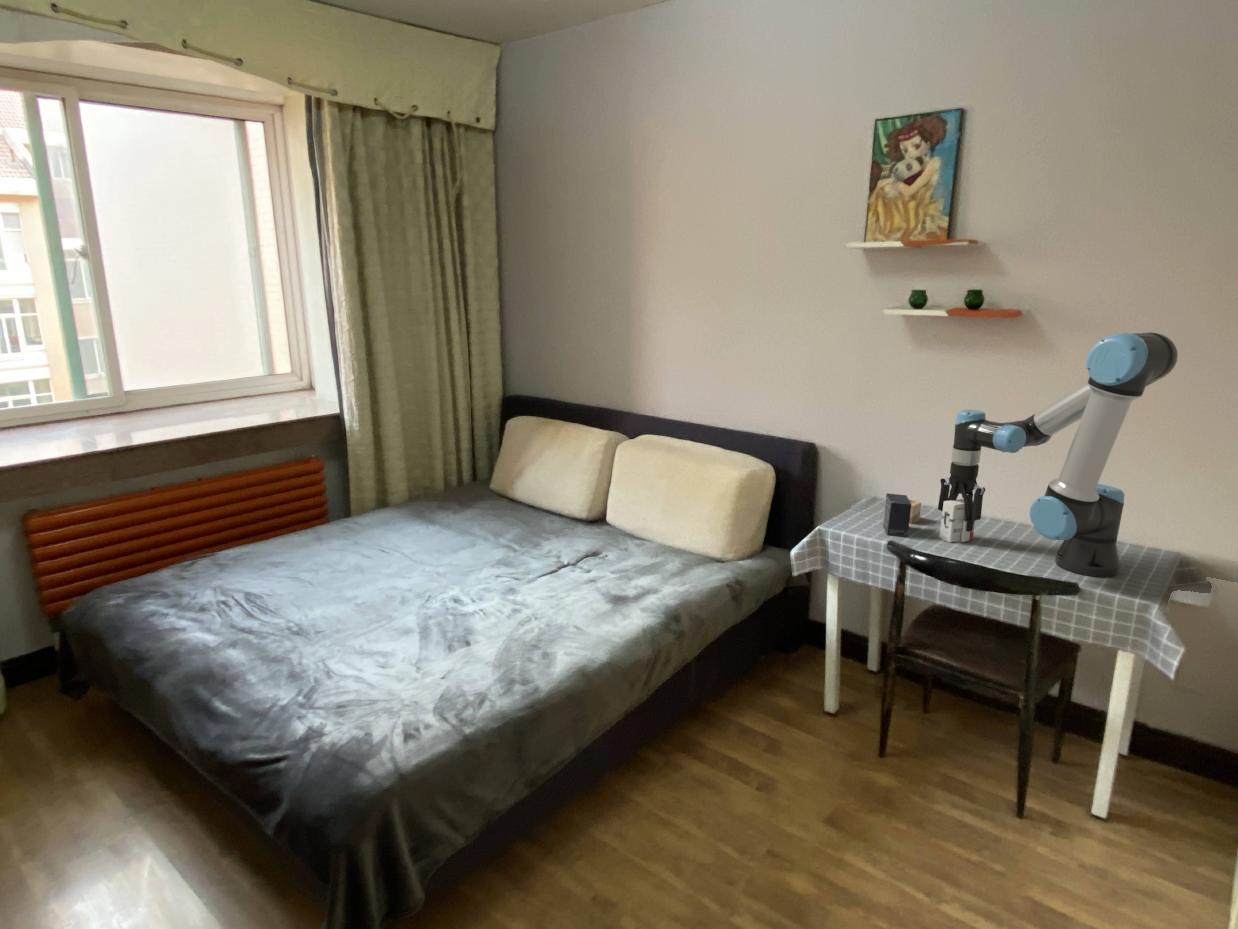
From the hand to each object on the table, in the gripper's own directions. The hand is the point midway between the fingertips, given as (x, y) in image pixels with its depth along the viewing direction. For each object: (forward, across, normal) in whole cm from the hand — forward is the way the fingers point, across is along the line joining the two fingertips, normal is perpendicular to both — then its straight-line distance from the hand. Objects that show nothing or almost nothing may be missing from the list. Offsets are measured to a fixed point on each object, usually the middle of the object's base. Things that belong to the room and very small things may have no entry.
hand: (955, 537), depth 229 cm
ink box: (+1, 0, 0) cm, 1 cm away
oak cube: (+1, +20, -2) cm, 20 cm away
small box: (+1, +14, +10) cm, 17 cm away
